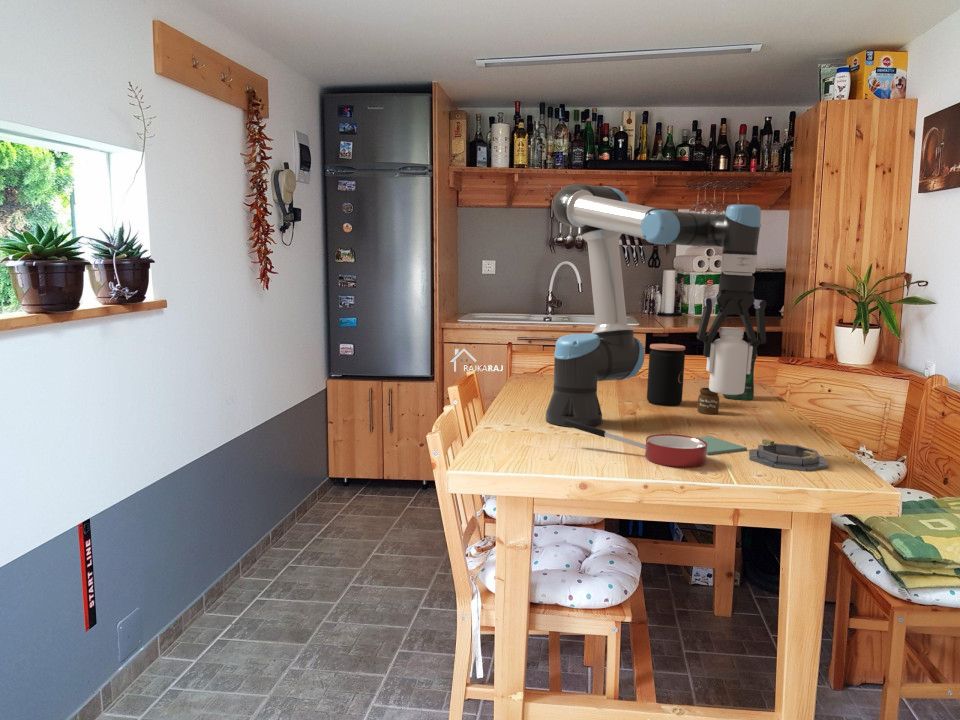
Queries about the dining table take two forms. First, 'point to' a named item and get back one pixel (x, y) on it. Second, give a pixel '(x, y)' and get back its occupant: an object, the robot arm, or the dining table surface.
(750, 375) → the coffee jar
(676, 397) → the coffee jar
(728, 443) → the rubber mat
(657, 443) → the frying pan
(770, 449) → the ring
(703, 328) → the robot arm
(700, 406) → the utensil holder
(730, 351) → the pill bottle
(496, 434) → the dining table surface
